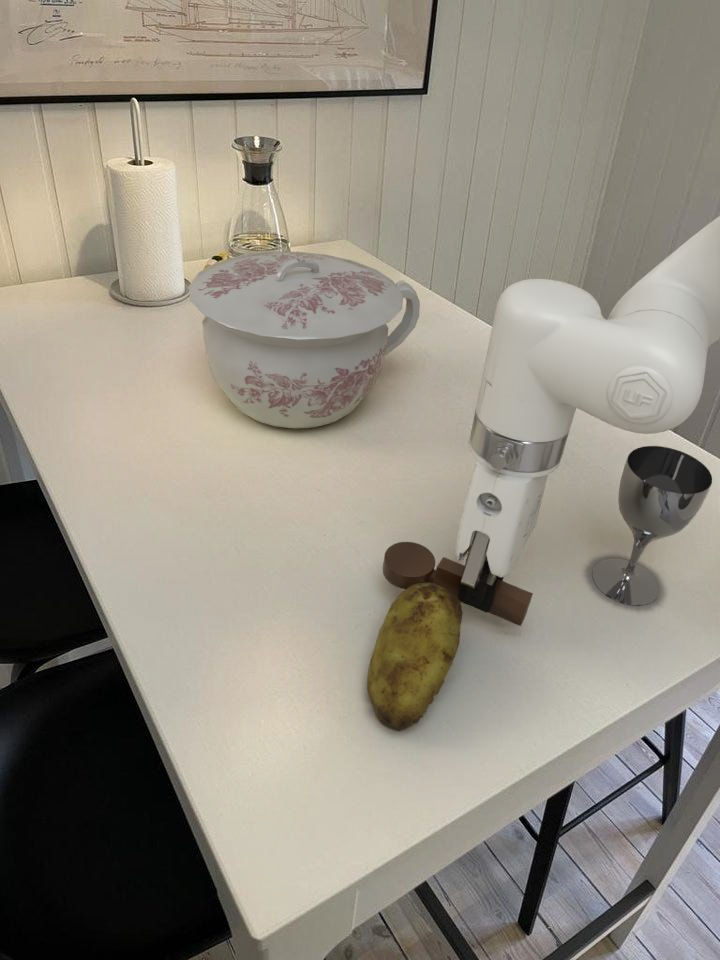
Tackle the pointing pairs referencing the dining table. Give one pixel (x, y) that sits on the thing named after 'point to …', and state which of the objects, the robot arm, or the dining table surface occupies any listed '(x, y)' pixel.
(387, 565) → the wooden spoon
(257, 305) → the chamber pot
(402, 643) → the potato
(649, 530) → the wine glass
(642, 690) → the dining table surface
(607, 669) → the dining table surface
